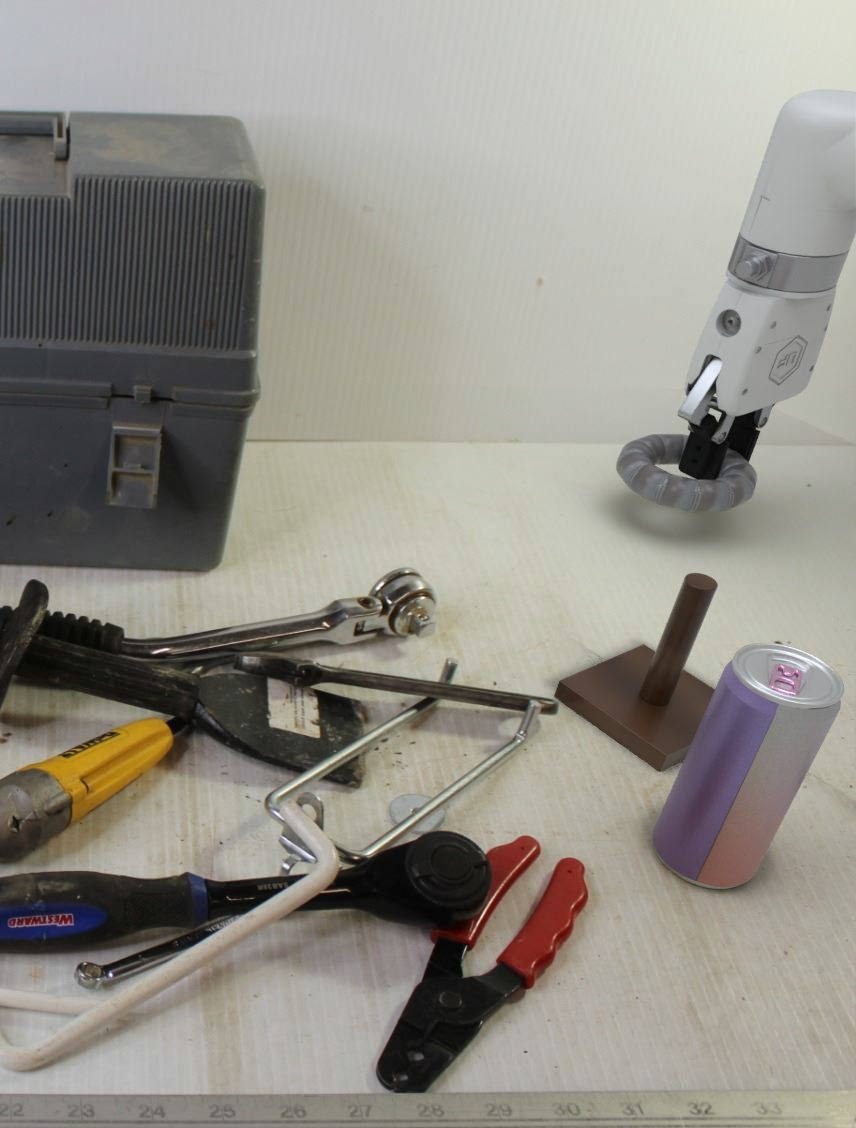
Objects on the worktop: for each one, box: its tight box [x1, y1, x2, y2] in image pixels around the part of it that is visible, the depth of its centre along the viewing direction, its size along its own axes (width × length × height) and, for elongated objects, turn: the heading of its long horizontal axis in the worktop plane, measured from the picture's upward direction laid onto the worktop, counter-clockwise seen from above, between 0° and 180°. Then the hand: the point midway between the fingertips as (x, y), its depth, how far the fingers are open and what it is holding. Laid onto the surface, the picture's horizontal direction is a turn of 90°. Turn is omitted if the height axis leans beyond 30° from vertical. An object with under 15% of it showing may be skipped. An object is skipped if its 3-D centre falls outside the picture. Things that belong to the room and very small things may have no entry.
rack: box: [553, 572, 719, 772], centre depth 91 cm, size 9×9×12 cm
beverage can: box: [651, 642, 845, 890], centre depth 79 cm, size 6×6×15 cm
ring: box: [615, 433, 758, 513], centre depth 111 cm, size 10×10×3 cm
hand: (711, 469), depth 113 cm, fingers closed on ring, 3 cm apart
